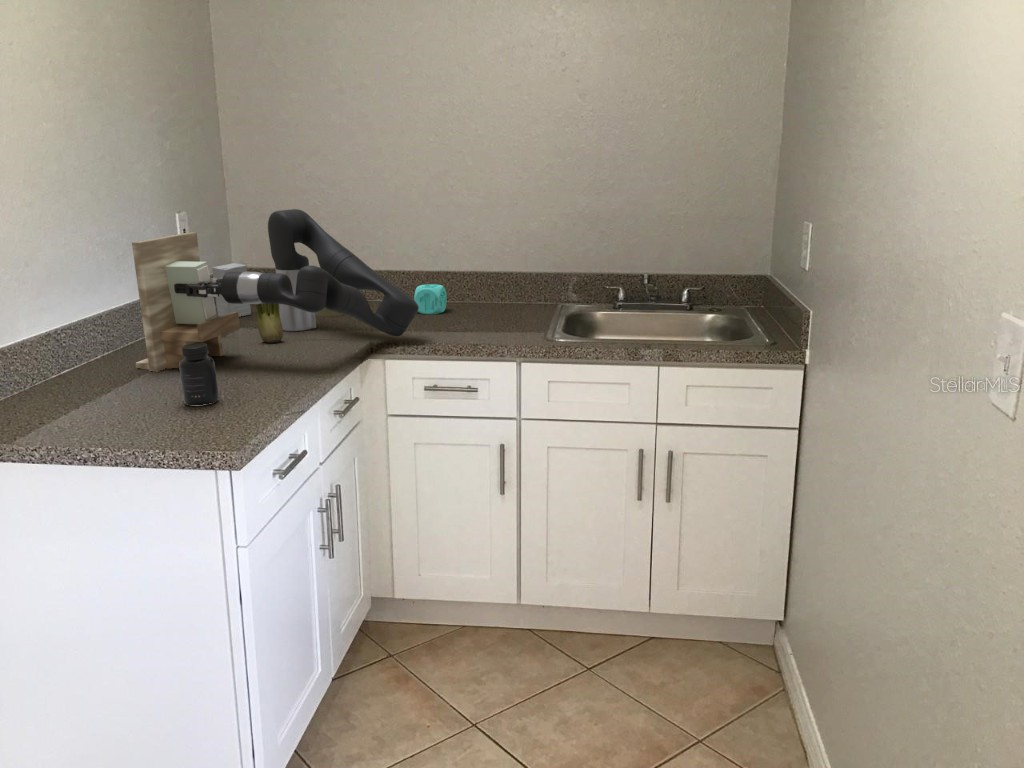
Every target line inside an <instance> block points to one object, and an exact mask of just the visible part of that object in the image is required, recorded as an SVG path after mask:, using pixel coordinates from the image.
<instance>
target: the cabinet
mask: <svg viewBox="0 0 1024 768" xmlns="http://www.w3.org/2000/svg"><path fill="white" fill-rule="evenodd" d="M165 270H166V275H167V280H168V285H169V291H170V296H171V301H172V306H173V311H174V316H175V321H176V324H201V323H204V322H206V321H209V320H212V319H215V318H218V314H217V308H216V304H215V303H216V302H215V299H214V297H212V296H208V297H206V298H204V297H194V296H187V294H183V293H175V289H174V285H175V284H189V283H191V284H197V283H198V282H199V281H210V278H211V275H210V271H209V265H208V261H200V262H190V261H177V262H174V263H172V264H169V265H167V266H165ZM202 286H204V284H202Z"/></svg>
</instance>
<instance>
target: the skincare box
mask: <svg viewBox="0 0 1024 768" xmlns="http://www.w3.org/2000/svg"><path fill="white" fill-rule="evenodd" d="M247 268H248V266H247V265H246V264H240V263H236V262H232V263H229V264H228V263H227V264H222V265H219V266H212V268H211V269H212V278H223V276H224V275H225V274H226V273H227V272H230V271H236V272H248V269H247ZM215 303H216V304H215V306H216V314H217V318H218V317H221V316H223V315H226V314H229V313H232V312H238V314H239V318H241V316H242V317H244V316H249V315H252V310H251V304H232V303H228V302H226V301H225V299H224V298H223V296H222V295H220V296H219V297H215Z"/></svg>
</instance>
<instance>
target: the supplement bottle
mask: <svg viewBox="0 0 1024 768" xmlns="http://www.w3.org/2000/svg"><path fill="white" fill-rule="evenodd" d="M207 354H208V350H207V345H206V344H205V343H193V344H187V345H184V346H182V356H183V357H184V359H182V360H181V361H180V363H179V369H178V370H179V377H180V384H181V390H182V397H183V402H184V404H185V405H186V404H188V405H203V404H209V403H213V402H215V401H217V400H218V401H219V398H220V396H219V395H220V394H219V390H218V389H219V388H218V380H217V372H216V363H215V361H214V359H213V358H212V356H207ZM218 401H217V402H218Z"/></svg>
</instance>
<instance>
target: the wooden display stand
mask: <svg viewBox="0 0 1024 768" xmlns="http://www.w3.org/2000/svg"><path fill="white" fill-rule="evenodd" d="M131 246H132V254H133V260H134V269H135V277H136V284H137V289H138V290H137V291H138V296H139V297H138V298H139V303H140V304H139V305H140V311H141V313H140V314H141V318H142V319H141V321H142V326H143V333H144V341H145V346H146V355H147V358H145V359H142V360H140V361H137V362H135V367H136V369H137V368H141V369H140V370H149V372H150V371H156V372H155V373H158V372H157V371H159V372H161V371H160V370H162V369H164V370H166V369H165V368H167V369H172V368H179V363H180V361H181V360H182V359H184V357H183V356H182V346H184V345H187V344H193V343H205V344H206V345H207V350H208V354H207V356H209V357H212V356H213V357H221V356H223V355H224V350H223V349H224V348H223V341H222V339H223V338H222V335H224V334H227V333H230V332H232V331H235V330H237V329H240V328H241V324H240V317H239V314H238V312H232V313H229V314H226V315H223V316H221V317H218V316H217V318H215V319H212V320H209V321H206V322H204V323H201V324H176V321H175V316H174V311H173V306H172V301H171V296H170V291H169V285H168V280H167V275H166V270H165V266H167V265H169V264H172V263H174V262H177V261H190V262H201V256H200V249H199V242H198V233H197V232H193V231H192V232H184V233H179V234H172V235H167V236H162V237H157V238H156V237H155V238H151V239H150V238H149V239H145V240H140V241H139V240H138V241H134V242H131ZM162 371H163V370H162Z"/></svg>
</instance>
